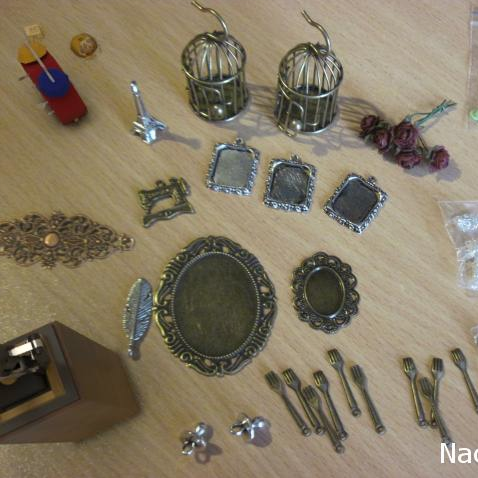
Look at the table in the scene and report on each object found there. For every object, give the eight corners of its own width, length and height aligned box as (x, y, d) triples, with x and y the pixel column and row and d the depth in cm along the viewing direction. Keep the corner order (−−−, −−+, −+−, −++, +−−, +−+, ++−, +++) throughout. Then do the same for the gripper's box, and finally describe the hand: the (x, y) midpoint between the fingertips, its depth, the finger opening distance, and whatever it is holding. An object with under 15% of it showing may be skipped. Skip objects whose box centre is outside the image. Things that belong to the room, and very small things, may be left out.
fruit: (95, 71, 129) (90, 61, 125) (64, 57, 129) (58, 46, 126) (115, 46, 132) (110, 36, 128) (84, 32, 132) (80, 21, 129)
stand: (79, 442, 102) (-16, 445, 68) (57, 382, 105) (-44, 356, 71) (141, 411, 105) (79, 399, 71) (118, 354, 108) (49, 316, 74)
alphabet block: (28, 35, 131) (23, 26, 128) (41, 31, 131) (36, 22, 128) (32, 45, 130) (26, 36, 127) (45, 41, 130) (40, 32, 128)
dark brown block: (5, 408, 70) (-9, 406, 67) (-8, 369, 72) (-22, 365, 68) (47, 388, 71) (36, 385, 68) (34, 350, 73) (22, 346, 69)
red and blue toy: (96, 123, 124) (66, 68, 106) (61, 143, 122) (24, 90, 103) (62, 78, 128) (27, 16, 109) (28, 96, 125) (-15, 36, 106)
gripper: (-123, 431, 52) (-32, 432, 68) (29, 362, 56) (82, 379, 72) (-141, 359, 54) (-49, 377, 70) (7, 297, 58) (63, 327, 73)
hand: (17, 378), depth 71 cm, fingers closed on dark brown block, 5 cm apart
